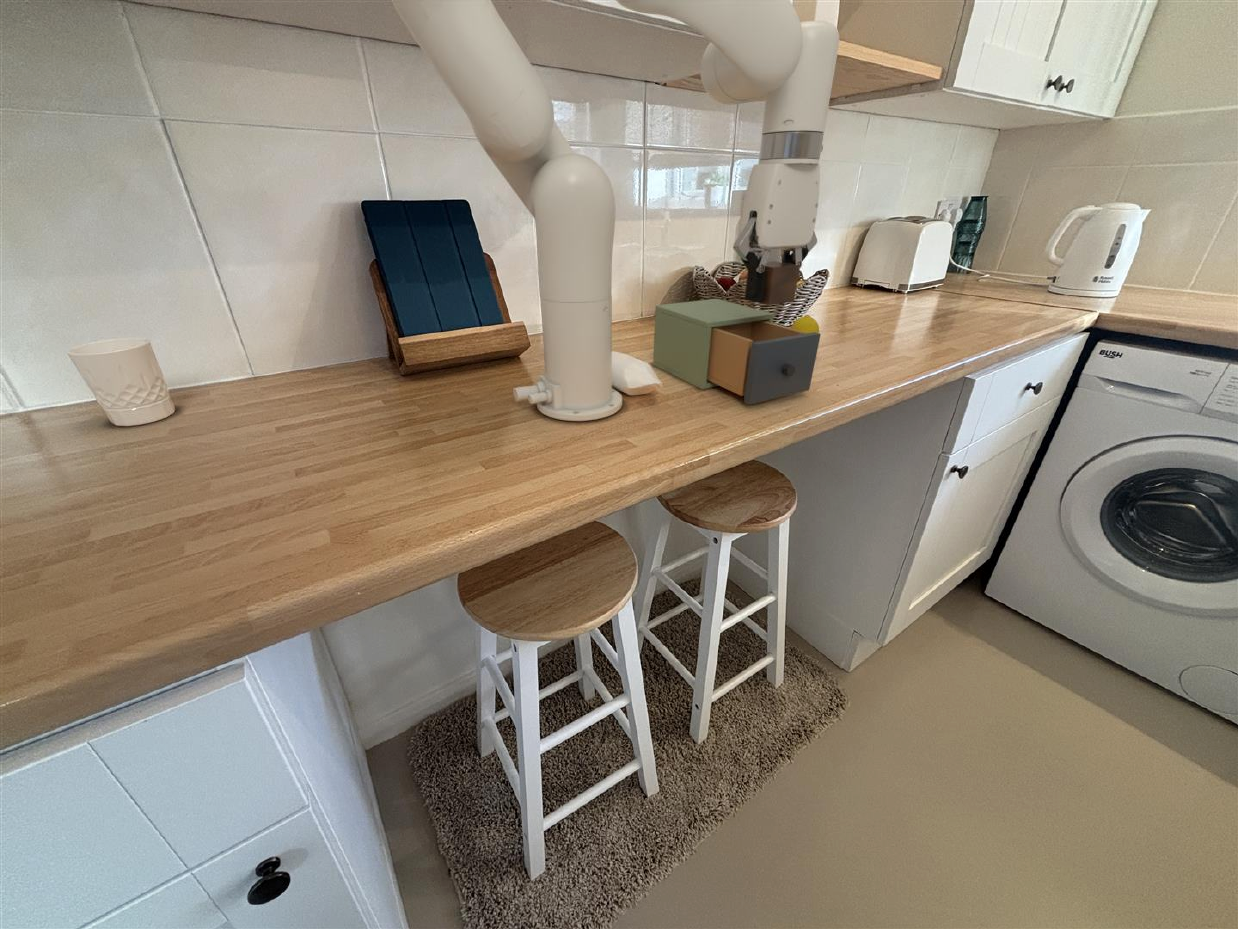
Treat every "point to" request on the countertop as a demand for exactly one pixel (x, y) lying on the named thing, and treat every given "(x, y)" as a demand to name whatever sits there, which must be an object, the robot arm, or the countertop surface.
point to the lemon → (806, 325)
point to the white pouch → (633, 375)
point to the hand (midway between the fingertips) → (769, 297)
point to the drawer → (761, 359)
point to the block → (780, 282)
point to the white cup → (124, 379)
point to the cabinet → (694, 335)
